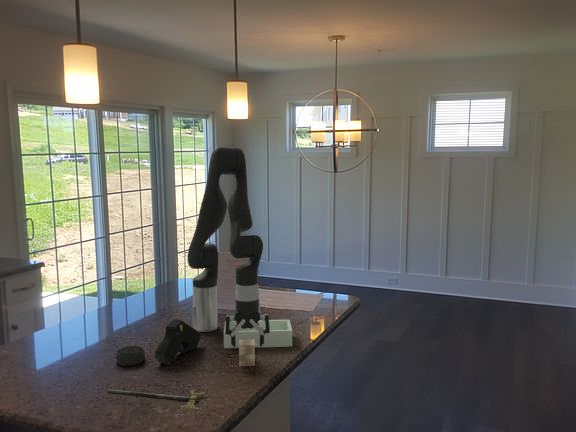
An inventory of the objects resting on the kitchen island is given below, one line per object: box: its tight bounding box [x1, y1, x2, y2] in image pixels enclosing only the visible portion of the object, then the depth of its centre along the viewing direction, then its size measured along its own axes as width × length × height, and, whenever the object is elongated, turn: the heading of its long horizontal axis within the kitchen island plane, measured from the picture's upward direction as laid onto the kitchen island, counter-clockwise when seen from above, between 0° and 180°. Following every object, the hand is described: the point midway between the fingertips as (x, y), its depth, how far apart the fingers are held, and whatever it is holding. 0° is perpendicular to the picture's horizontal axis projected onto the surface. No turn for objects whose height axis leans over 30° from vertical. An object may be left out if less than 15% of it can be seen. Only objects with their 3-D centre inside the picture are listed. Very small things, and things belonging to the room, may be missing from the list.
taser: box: [154, 318, 203, 366], centre depth 172 cm, size 4×18×15 cm
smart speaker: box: [115, 345, 146, 367], centre depth 167 cm, size 9×9×4 cm
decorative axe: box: [107, 388, 206, 410], centre depth 144 cm, size 30×2×10 cm
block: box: [238, 339, 256, 367], centre depth 166 cm, size 5×5×7 cm
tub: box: [223, 319, 293, 349], centre depth 186 cm, size 24×12×6 cm, turn 95°
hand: (247, 345), depth 166 cm, fingers open, 8 cm apart
